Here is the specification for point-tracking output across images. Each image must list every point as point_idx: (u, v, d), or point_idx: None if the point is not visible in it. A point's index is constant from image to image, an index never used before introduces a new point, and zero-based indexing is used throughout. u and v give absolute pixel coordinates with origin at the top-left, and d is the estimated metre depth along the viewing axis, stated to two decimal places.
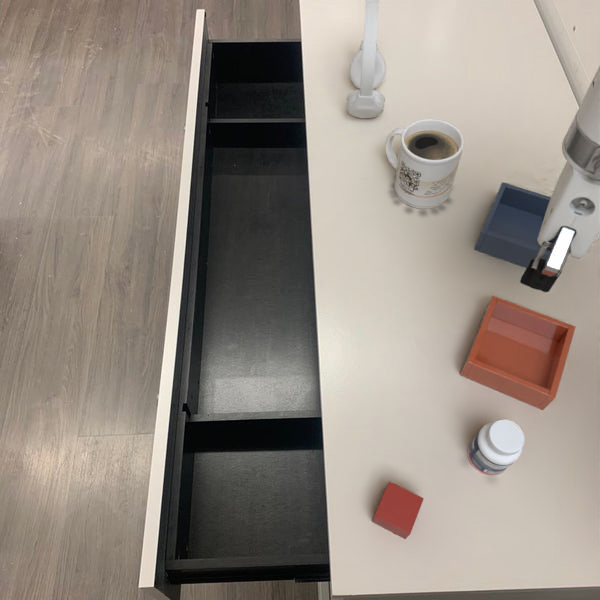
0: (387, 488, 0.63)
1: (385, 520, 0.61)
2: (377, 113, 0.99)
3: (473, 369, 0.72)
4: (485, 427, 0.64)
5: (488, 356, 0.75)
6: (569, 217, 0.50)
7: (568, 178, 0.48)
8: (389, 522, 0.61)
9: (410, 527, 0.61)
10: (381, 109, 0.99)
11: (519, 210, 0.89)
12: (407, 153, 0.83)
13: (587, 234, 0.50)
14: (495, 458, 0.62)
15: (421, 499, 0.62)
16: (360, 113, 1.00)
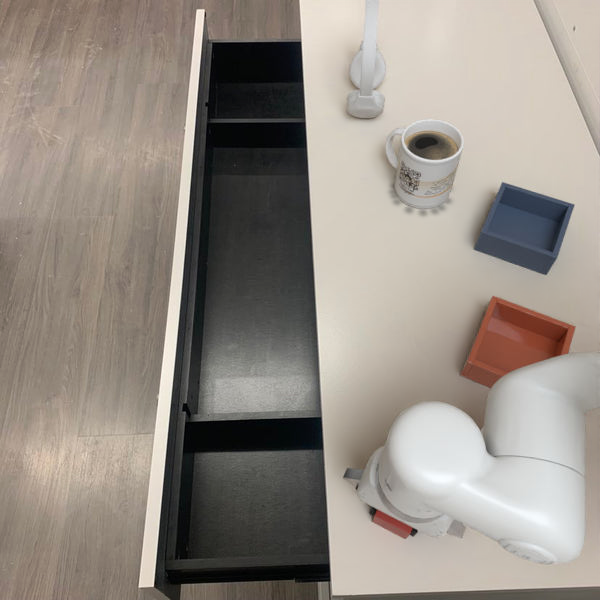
0: None
1: (385, 520, 0.61)
2: (377, 113, 0.99)
3: (473, 369, 0.72)
4: None
5: (488, 356, 0.75)
6: None
7: (439, 522, 0.50)
8: (389, 522, 0.61)
9: (410, 527, 0.61)
10: (381, 109, 0.99)
11: (519, 210, 0.89)
12: (407, 153, 0.83)
13: None
14: None
15: None
16: (360, 113, 1.00)
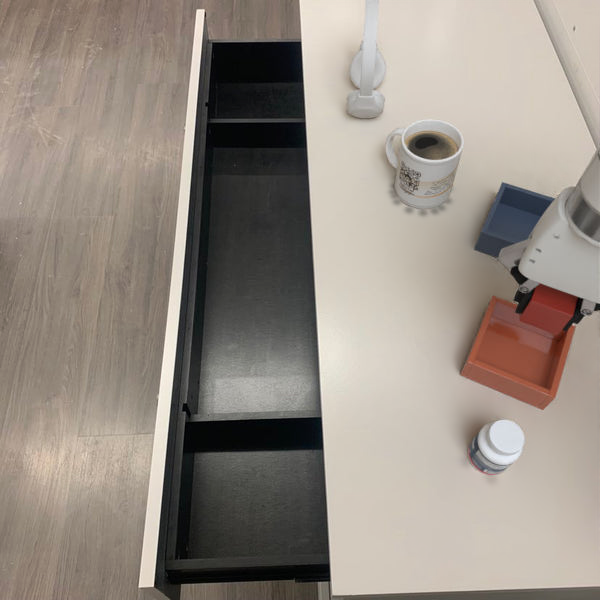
0: None
1: (543, 304, 0.57)
2: (377, 113, 0.99)
3: (473, 369, 0.72)
4: (485, 427, 0.64)
5: (488, 356, 0.75)
6: None
7: None
8: (548, 306, 0.57)
9: (572, 310, 0.56)
10: (381, 109, 0.99)
11: (519, 210, 0.89)
12: (407, 153, 0.83)
13: None
14: (495, 458, 0.62)
15: None
16: (360, 113, 1.00)
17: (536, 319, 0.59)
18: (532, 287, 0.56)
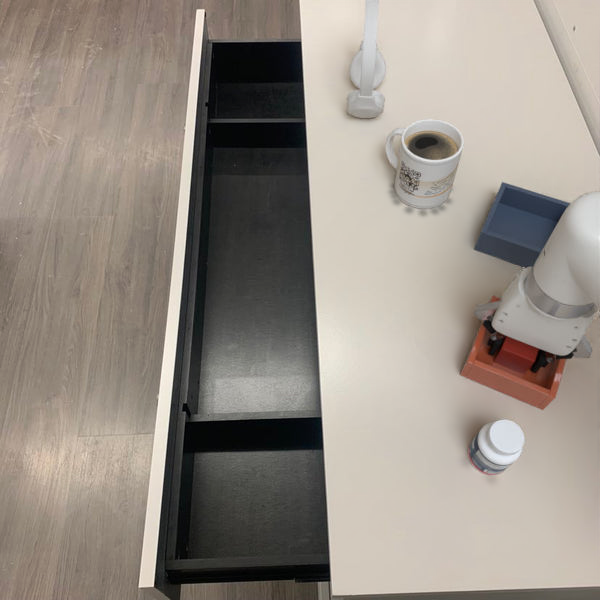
0: None
1: (511, 351, 0.71)
2: (377, 113, 0.99)
3: (473, 369, 0.72)
4: (485, 427, 0.64)
5: (488, 356, 0.75)
6: None
7: (581, 322, 0.60)
8: (515, 353, 0.71)
9: (534, 356, 0.70)
10: (381, 109, 0.99)
11: (519, 210, 0.89)
12: (407, 153, 0.83)
13: None
14: (495, 458, 0.62)
15: None
16: (360, 113, 1.00)
17: (507, 362, 0.73)
18: (500, 336, 0.71)
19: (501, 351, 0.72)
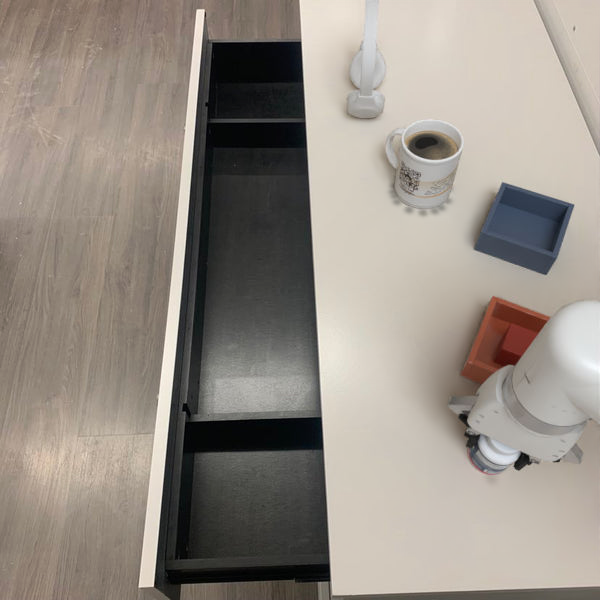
0: (510, 328, 0.73)
1: (511, 351, 0.71)
2: (377, 113, 0.99)
3: (473, 369, 0.72)
4: None
5: (488, 356, 0.75)
6: None
7: (568, 437, 0.50)
8: (515, 353, 0.71)
9: None
10: (381, 109, 0.99)
11: (519, 210, 0.89)
12: (407, 153, 0.83)
13: None
14: (495, 458, 0.62)
15: None
16: (360, 113, 1.00)
17: (507, 362, 0.73)
18: (478, 432, 0.61)
19: (501, 351, 0.72)
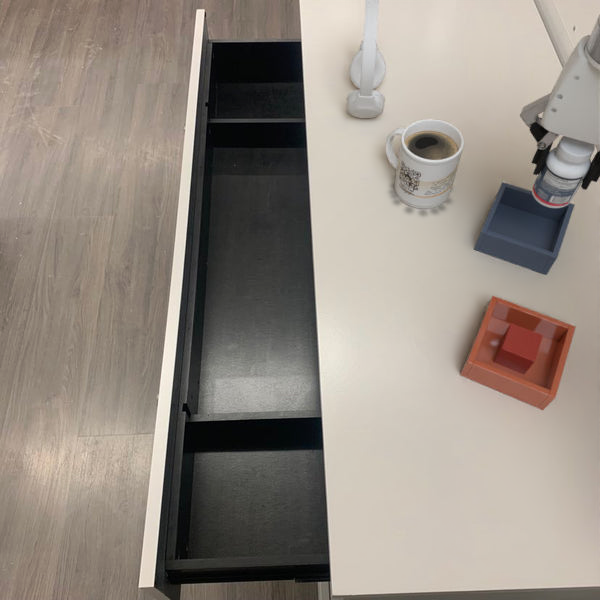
0: (510, 328, 0.73)
1: (511, 351, 0.71)
2: (377, 113, 0.99)
3: (473, 369, 0.72)
4: (553, 149, 0.66)
5: (488, 356, 0.75)
6: None
7: None
8: (515, 353, 0.71)
9: (534, 356, 0.70)
10: (381, 109, 0.99)
11: (519, 210, 0.89)
12: (407, 153, 0.83)
13: None
14: (565, 170, 0.64)
15: (541, 336, 0.72)
16: (360, 113, 1.00)
17: (507, 362, 0.73)
18: (549, 141, 0.64)
19: (501, 351, 0.72)
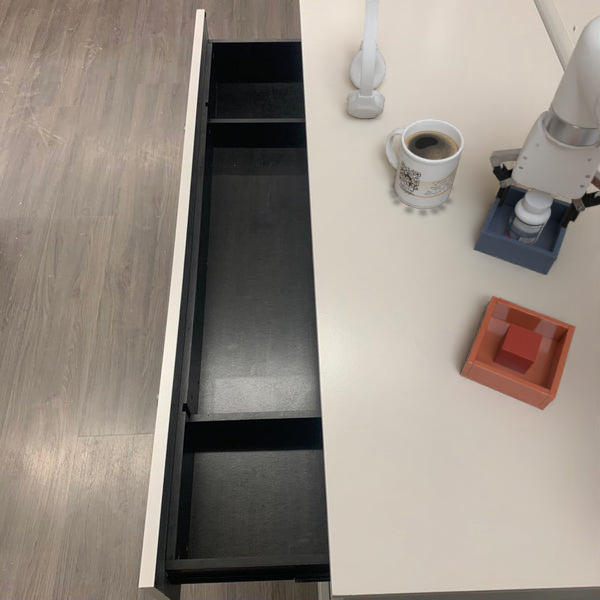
0: (510, 328, 0.73)
1: (511, 351, 0.71)
2: (377, 113, 0.99)
3: (473, 369, 0.72)
4: (521, 200, 0.82)
5: (488, 356, 0.75)
6: None
7: (594, 153, 0.67)
8: (515, 353, 0.71)
9: (534, 356, 0.70)
10: (381, 109, 0.99)
11: None
12: (407, 153, 0.83)
13: None
14: (530, 218, 0.80)
15: (541, 336, 0.72)
16: (360, 113, 1.00)
17: (507, 362, 0.73)
18: (508, 181, 0.77)
19: (501, 351, 0.72)
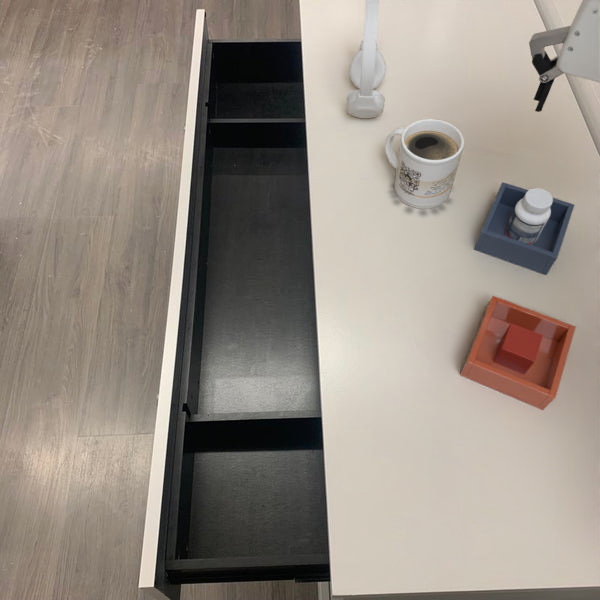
0: (510, 328, 0.73)
1: (511, 351, 0.71)
2: (377, 113, 0.99)
3: (473, 369, 0.72)
4: (521, 200, 0.82)
5: (488, 356, 0.75)
6: None
7: None
8: (515, 353, 0.71)
9: (534, 356, 0.70)
10: (381, 109, 0.99)
11: None
12: (407, 153, 0.83)
13: None
14: (530, 218, 0.80)
15: (541, 336, 0.72)
16: (360, 113, 1.00)
17: (507, 362, 0.73)
18: (552, 73, 0.62)
19: (501, 351, 0.72)
